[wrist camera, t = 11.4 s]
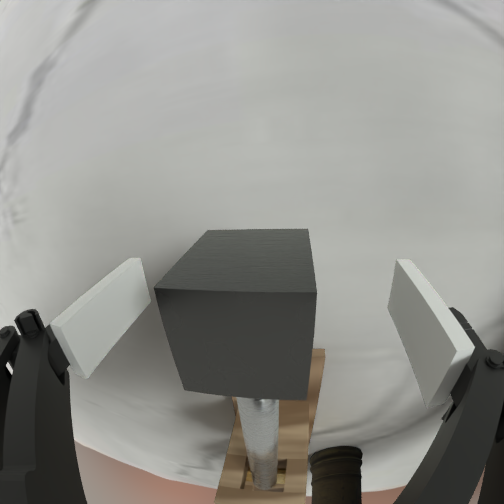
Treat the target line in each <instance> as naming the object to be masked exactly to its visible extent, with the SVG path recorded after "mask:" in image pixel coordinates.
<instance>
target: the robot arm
mask: <svg viewBox="0 0 504 504" xmlns="http://www.w3.org/2000/svg"><path fill="white" fill-rule="evenodd" d="M150 302H151V299H150V295H149V291H148V287H147V283H146V279H145V275H144V270H143V266H142V262H141V258H129V259H127V260H126V261H125V262H123V263H122V264H121V265H120V266H118V267H117V268H116V269H114V270H113V271H112V272H111V273H109V274H108V275H107V276H105V277H104V278H103V279H102V280H100V281H99V282H98V283H97V284H95V285H94V286H93V287H92V288H91V289H89V290H88V291H87V292H86V293H84V294H83V295H82V296H81V297H80V298H78V299H77V300H76V301H75V302H74V303H73V304H71V305H70V306H69V307H68V308H67V309H65V310H64V311H63V312H62V313H61V314H60V315H59V316H57V317H56V318H55V319H54V320H53V321H52V322H51V323H50V324H49V325H48V326H47V327H46V328H45V327H44V325H43V322H42V320H41V318H40V316H39V313H38V311H37V310H35V309H30V310H26V311H24V312H22V313H21V314H19V315H18V316H17V317H16V318H15V320H14V321H15V323H16V325H17V327H18V329H19V331H20V333H21V335H18V333H17V331H16V329H15V327H14V326H5V327H3V328H2V329H1V330H0V504H87V501H86V498H85V494H84V490H83V486H82V482H81V477H80V473H79V468H78V462H77V457H76V451H75V444H74V437H73V428H72V418H71V405H70V381H69V372H68V371H67V367H68V366H69V365H70V366H71V367H72V369H73V371H74V373H75V374H76V375H78V376H81V377H83V378H86V379H88V377H89V376H90V375H91V374H92V372H93V371H94V370H95V368H96V367H97V366H98V365H99V363H100V362H101V361H102V360H103V358H104V357H105V356H106V355H107V354H108V352H109V351H110V350H111V349H112V347H113V346H114V345H115V344H116V343H117V341H118V340H119V339H120V338H121V336H122V335H123V334H124V333H125V332H126V330H127V329H128V328H129V327H130V326H131V325H132V323H133V322H134V321H135V320H136V319H137V317H138V316H139V315H140V314H141V313H142V312H143V310H144V309H145V308H146V307H147V306H148V305H149V303H150ZM388 310H389V312H390V315H391V317H392V319H393V321H394V324H395V326H396V328H397V331H398V333H399V335H400V338H401V340H402V342H403V345H404V347H405V350H406V352H407V355H408V357H409V360H410V363H411V365H412V368H413V371H414V373H415V376H416V379H417V382H418V384H419V387H420V390H421V393H422V396H423V399H424V402H425V405H426V408H429V407H434V406H439V405H443V404H444V403H445V401H446V400H447V398H448V397H449V395H450V394H451V396H452V399H453V403H452V404H451V406H450V407H449V409H448V410H447V412H446V413H445V415H444V416H443V417H442V420H444V421H443V423H442V425H441V427H440V429H439V431H438V433H437V435H436V437H435V439H434V441H433V443H432V445H431V446H430V448H429V450H428V452H427V454H426V455H425V457H424V459H423V461H422V462H421V464H420V466H419V467H418V469H417V470H416V472H415V473H414V475H413V477H412V478H411V480H410V481H409V483H408V484H407V485H406V487H405V489H404V490H403V491H402V493H401V494H400V495H399V497H398V498H397V499H396V501H395V502H394V503H393V504H468V503H469V501H470V499H471V497H472V495H473V493H474V491H475V489H476V486H477V484H478V482H479V480H480V477H481V475H482V472H483V470H484V467H485V472H484V477H483V483H482V487H481V492H480V496H479V500H478V504H504V356H503V355H502V354H501V353H500V352H498V351H495V350H491V349H490V350H487V349H486V347H485V346H484V344H483V343H482V341H481V340H480V339H479V337H478V336H477V334H476V333H475V331H474V330H473V329H472V327H471V326H470V324H469V323H467V322H468V321H467V320H466V319H465V317H464V316H463V315H462V314H461V313H460V312H459V311H457V310H456V309H455V308H453V307H452V308H448V307H447V305H446V304H445V303H444V301H443V300H442V299H441V297H440V296H439V295H438V293H437V292H436V291H435V290H434V288H433V287H432V286H431V284H430V283H429V282H428V281H427V279H426V278H425V277H424V276H423V275H422V273H421V272H420V271H419V270H418V268H417V267H416V266H415V265H414V264H413V262H412V261H411V260H410V259H396V264H395V271H394V277H393V283H392V288H391V293H390V298H389V303H388ZM7 362H9V364H10V366H11V367H12V369H13V374H12V375H11V373H10V372H9V370H8V369H7V367H6V364H7ZM485 465H486V466H485Z"/></svg>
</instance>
